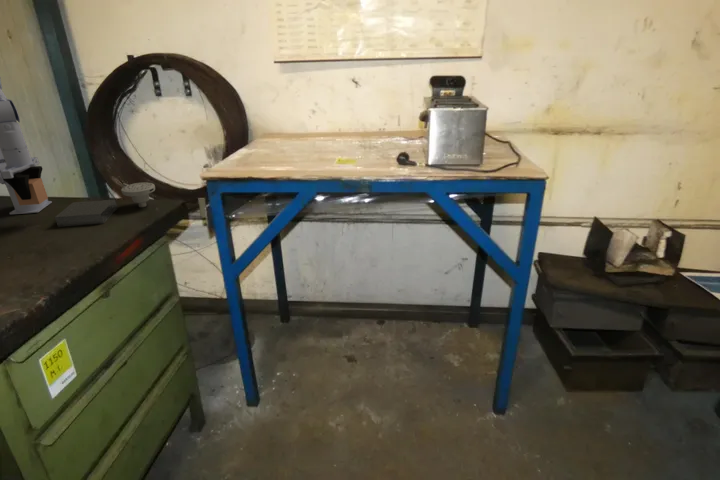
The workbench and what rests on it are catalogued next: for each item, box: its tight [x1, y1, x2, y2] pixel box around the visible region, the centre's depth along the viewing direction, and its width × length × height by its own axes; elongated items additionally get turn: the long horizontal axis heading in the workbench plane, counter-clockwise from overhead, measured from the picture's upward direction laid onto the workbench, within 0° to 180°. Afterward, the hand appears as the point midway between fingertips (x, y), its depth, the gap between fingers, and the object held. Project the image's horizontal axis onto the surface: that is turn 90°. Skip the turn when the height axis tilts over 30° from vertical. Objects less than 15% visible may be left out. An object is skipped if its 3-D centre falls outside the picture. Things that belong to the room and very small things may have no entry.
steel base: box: [54, 199, 118, 228], centre depth 125 cm, size 12×12×3 cm
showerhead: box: [120, 181, 156, 208], centre depth 133 cm, size 9×7×10 cm
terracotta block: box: [14, 178, 49, 205], centre depth 118 cm, size 5×5×6 cm
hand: (31, 195), depth 119 cm, fingers closed on terracotta block, 5 cm apart
